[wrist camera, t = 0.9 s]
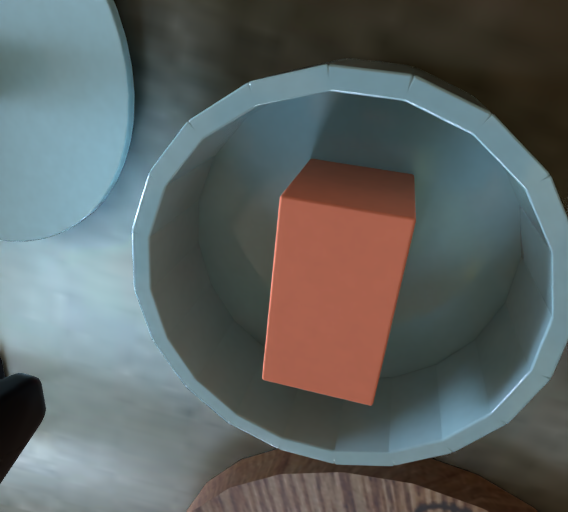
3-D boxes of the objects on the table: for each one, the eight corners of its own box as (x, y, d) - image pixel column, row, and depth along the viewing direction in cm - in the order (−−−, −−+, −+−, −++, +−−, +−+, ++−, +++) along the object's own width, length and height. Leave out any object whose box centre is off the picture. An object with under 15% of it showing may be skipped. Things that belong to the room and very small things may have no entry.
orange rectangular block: (380, 329, 21) (372, 407, 16) (291, 310, 22) (261, 380, 17) (415, 173, 18) (416, 218, 13) (310, 157, 19) (279, 195, 14)
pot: (478, 413, 22) (496, 507, 18) (187, 345, 24) (139, 413, 20) (598, 86, 16) (671, 105, 11) (191, 38, 18) (121, 38, 14)
